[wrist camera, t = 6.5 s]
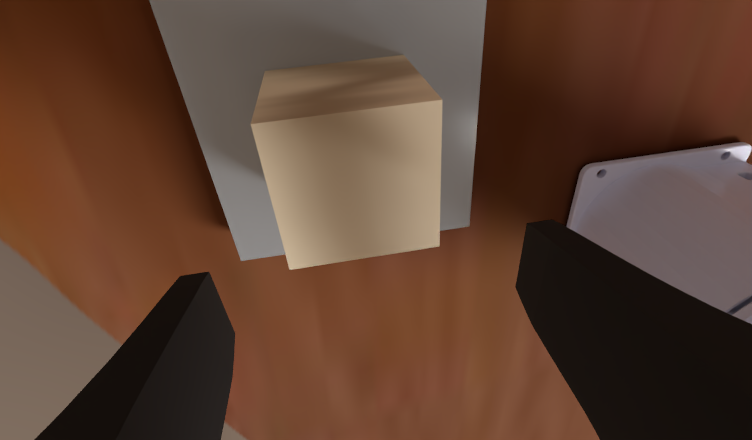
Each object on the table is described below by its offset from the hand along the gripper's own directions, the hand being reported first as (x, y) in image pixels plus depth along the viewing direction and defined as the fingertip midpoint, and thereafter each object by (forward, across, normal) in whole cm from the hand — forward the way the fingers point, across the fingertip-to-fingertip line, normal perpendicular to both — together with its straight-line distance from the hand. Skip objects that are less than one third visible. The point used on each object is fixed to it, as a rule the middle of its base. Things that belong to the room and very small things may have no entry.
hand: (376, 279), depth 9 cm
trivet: (+10, 0, 0) cm, 10 cm away
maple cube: (+8, 0, 0) cm, 8 cm away
